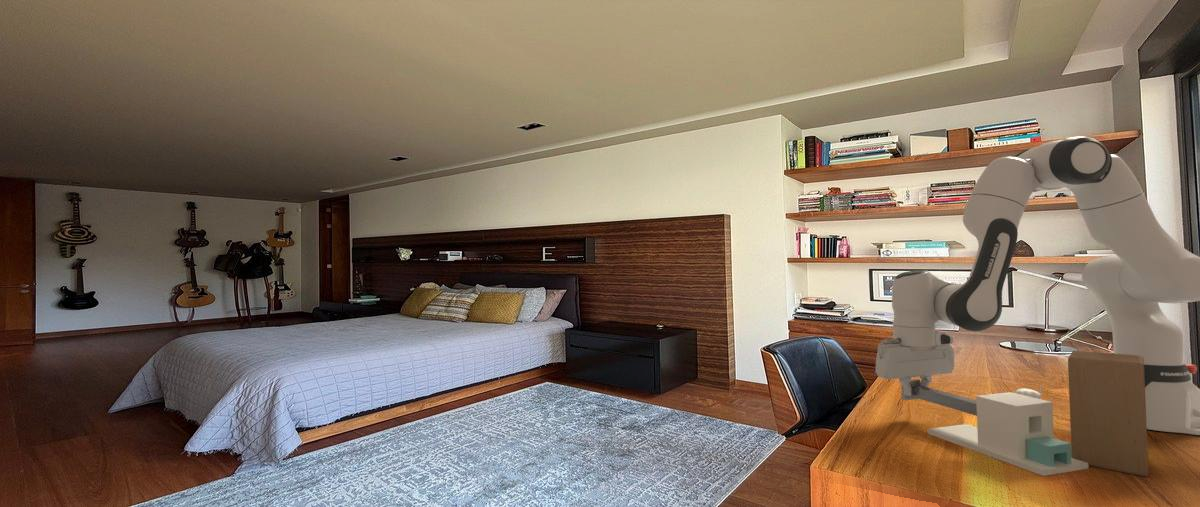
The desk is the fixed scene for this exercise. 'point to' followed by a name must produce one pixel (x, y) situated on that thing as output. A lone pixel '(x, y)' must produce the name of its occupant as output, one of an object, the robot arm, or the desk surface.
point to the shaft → (941, 398)
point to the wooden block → (1108, 411)
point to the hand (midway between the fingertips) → (915, 394)
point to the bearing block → (1008, 431)
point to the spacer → (1048, 451)
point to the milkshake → (1029, 392)
